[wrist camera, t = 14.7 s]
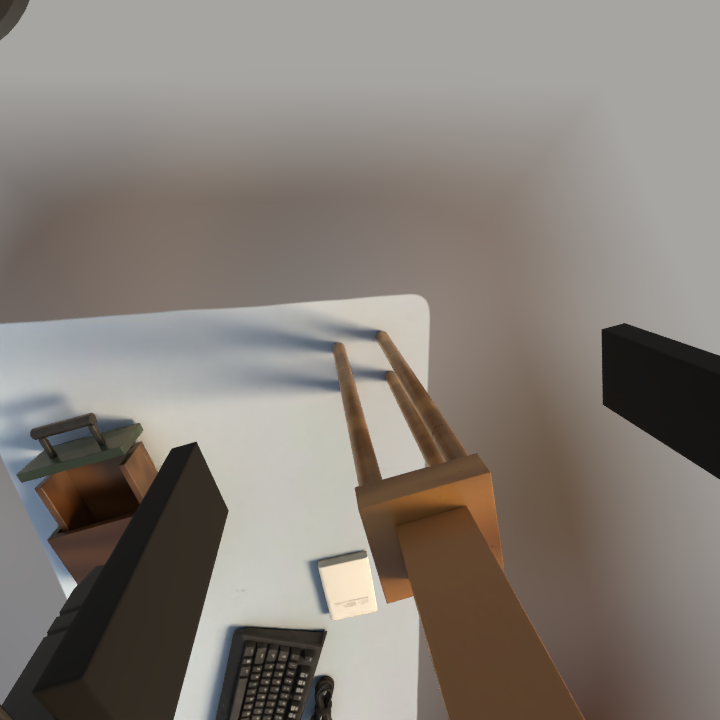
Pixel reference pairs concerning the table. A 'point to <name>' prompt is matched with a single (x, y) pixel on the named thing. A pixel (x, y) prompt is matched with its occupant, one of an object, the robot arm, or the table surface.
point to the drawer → (90, 472)
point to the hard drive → (348, 585)
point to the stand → (417, 488)
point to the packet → (478, 626)
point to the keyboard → (273, 676)
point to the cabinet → (88, 545)
